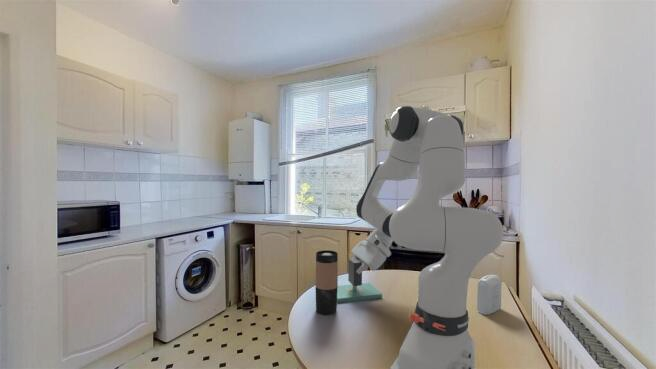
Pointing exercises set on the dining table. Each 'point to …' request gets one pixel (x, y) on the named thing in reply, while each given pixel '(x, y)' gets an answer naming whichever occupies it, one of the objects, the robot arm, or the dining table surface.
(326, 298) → the travel mug
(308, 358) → the dining table surface
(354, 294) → the teal plate
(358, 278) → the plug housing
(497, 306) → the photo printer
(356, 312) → the dining table surface
